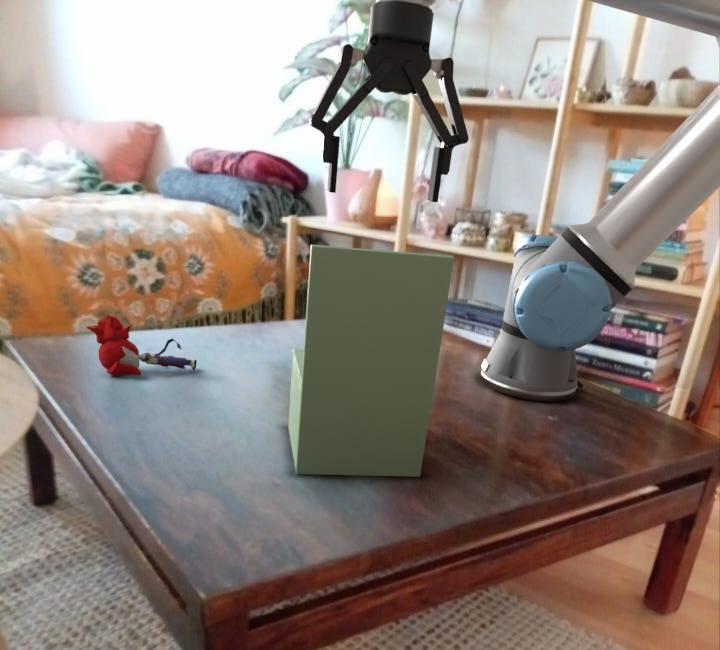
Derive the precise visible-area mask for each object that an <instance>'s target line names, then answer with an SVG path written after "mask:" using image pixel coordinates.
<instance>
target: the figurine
mask: <svg viewBox="0 0 720 650" xmlns="http://www.w3.org/2000/svg"><path fill="white" fill-rule="evenodd" d="M132 326H133V325H132V324H129V325H127V326H126V327H124V326H123V324H122V322H121V321H120V320H119V319H118V317H117V316H114V315H110V314H107V315H106V316H105V318H101V319H100V320H98V321H97V325H90V326H86V328H87V329H88V330H89V331H91V332H93V333H94V334H95V336H96V342H97V344H100V346H99V348H98V360H99V363H100V364H101V366H102V367H103V368H104V369H106V373H107V374H108V375H110V376H129V375H131V376H133V375H134V376H142V374H143V373H142V371H141V370H140V369H139V368H140V361H141V362H142V363H146V364H147V365H154V366H160V367H163V368H164V367H166V368H168V367H173V368H176V369H177V368H178V369H182V370H185V369H186V366H188V367H189V366H190V367H191V369H192V370H193V371H195V370H196V368H197V359H188V358H186V357H178V356H174V355H162V354H163V353H165V352H166V350H167V349H168V347H169V345H170V344H171V343H173V342H175V343H176V347H177V348H178V349H180V350H182V346H181V345H180V343H179V342H177V341H176V340H175V339H174V338H170V339H167V341H166V343H165V345H164V348H163V349H162V350H161V351H160V352H158V353H152V352H144V353H141V354H140V352H139V351H140V350H139V349H138V347H137V346H136V344H135V343H133V342H132V341H130V340H129V338H130V330H131V328H132Z"/></svg>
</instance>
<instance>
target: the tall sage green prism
mask: <svg viewBox="0 0 720 650" xmlns="http://www.w3.org/2000/svg"><path fill="white" fill-rule="evenodd" d="M309 252H310V253H309V266H308V280H307V281H308V282H307V295H306V310H305V324H304V339H303V349H302V348H293V349H292V363H291V375H290V376H291V377H290V392H289V393H290V395H289V410H288V426H287V428H288V433H289V434H288V435H289V440H290V446H291V451H292V457H293V464H294V469H295V474H296V475H318V476H321V475H323V476H361V477H362V476H366V477H367V476H368V477H406V478H407V477H409V478H410V477H413V478H414V477H415V478H420V477H421V473H422V467H423V462H424V461H423V460H424V454H425V448H426V441H427V435H428V429H429V422H430V416H431V411H432V410H431V409H432V402H433V397H434V390H435V383H436V376H437V371H438V364H439V359H440V352H441V346H442V345H441V344H442V340H443V339H442V338H443V332H444V326H445V320H446V313H447V307H448V301H449V295H450V287H451V282H452V275H453V268H454V262H455V258H454V256H452V255H443V254H432V253H421V252H420V253H419V252H408V251H395V250H383V249H371V248H370V249H369V248H358V247H347V246H336V245H335V246H333V245H323V244H310V251H309Z"/></svg>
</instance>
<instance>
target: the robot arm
mask: <svg viewBox="0 0 720 650" xmlns="http://www.w3.org/2000/svg"><path fill="white" fill-rule="evenodd" d="M587 1H588V2H591V3H595V4H599V5H602V6H606V7H609V8H613V9H616V10H619V11H623V12H625V13H630V14H634V15H638V16H641V17H645V18H648V19H652V20H654V21H659V22H662V23H664V24H665V23H666V24H669V25H673V26H676V27H679V28H683V29H687V30H691V31H693V32H697V33H701V34H705V35H708V36H710V37H714V38H715V40H716V42H717V45H718V48H720V0H587ZM435 3H436V0H375V2H373V3H372V5H371V6H370V12H369V23H368V24H369V25H368V35H367V42H366V43H367V44H366V46H365V48H364V49H360V48H356V47H353V45H352V44H350V43H346V44H345V45H343V46H342V47H341V49H340V53H339V58H338V63H337V66H336V68H335V70H334V73H333V74H332V77H331V78H330V80H329V82H328V83H327V86H326V88H325V89H324V91H323V93H322V95H321V97H320V99H319V101H318V103H317V105H316V107H315V108H314V111H313V112H312V114H311V116H310V118H309V120H308V123H309V126H310V127H312V128H313V129H316V130H318V131H319V132H320V133H321V135H322V142H321V144H322V145H321V161H322V163H323V164H328V175H327V176H328V178H327V191H328V192H329V193H334V194H336V193H337V178H338V169H339V168H338V165H339V153H340V143H341V142H340V141H341V140H340V139H341V136H338V135H335V132H336V131H337V130H338V129H339V128H340V127H341V125H343V123H345V121H346V120H347V119H348V118H349V116H351V114H353V112H354V111H355V110H356V109H357V108H358V107H359V106H360V105H361V103H363V101H364V100H365V99H366V98H367V97H368V96H369V95H370V94H371V93H372V92H373V91H374V90H375V89H376V90H377V91H378V92H379V93H383V94H387V93H388V94H389V93H394V94H396V95H400V96H408V95H410V94H411V95H412V97H413V99H414V100H415V101H416V103H417V104H418V107H419V108H420V110H421V112H422V113H423V116H424V117H425V119H426V121H427V123H428V124H429V126H430V128H431V130H432V131H433V134H434V135H435V136H436V138H437V140H438V142H439V144H440V147H439V146H434V147H433V154H432V161H431V170H430V176H429V184H428V192H427V198H426V199H427V201H429V202H432V203H438V202H439V195H440V190H441V189H440V188H441V181H442V175H444V176H448V175H449V173H450V168H451V162H452V154H453V151H454V148H455V147H457V146H460V145H464V144H467V143H468V142H469V138H470V137H469V133H468V130H467V127H466V122H465V118H464V114H463V111H462V107H461V103H460V99H459V96H458V92H457V88H456V85H455V81H454V64H455V63H454V58H451V57H445V58H441V59H440V58H437V59H435V58H434V59H432V58H431V54H430V46H431V39H432V30H433V22H434V15H435V13H434V12H433V9H432V8H430V6H432V5H433V4H435ZM359 61H362V65H363V67H364V68H365V70H366V72H367V76H366V77H365V79H364V80H363V81H362V82H361V83H360V84H359V86H358V87H357V88H356V89H355V90H354V92H353V93H352V94H351V95H350V96H349V97H348V98H347V99H346V100H345V101H344V102H343V104H341V106H340V107H339V108H338V109H337V110H336V111H335V113H334V114H333V115H332V116H331V117H330V118H329V119H328V121H325V120H324V118H325V116H326V115H327V113H328V112H329V109H330V107H331V105H332V104H333V101H334V100H335V98H336V96H337V94H338V92H339V91H340V89H341V87H342V85H343V83H344V81H345V79H346V77H347V76H348V74H349V71H350V69H353V68H355V67H356V66H357V64H358V62H359ZM430 71H432V72H433V75H434V78H435V79H436V80H438V85H439V89H440V92H441V96H442V99H443V104H444V107H445V110H446V114H447V118H448V121H449V124H450V125H449V126H450V129H451V132H452V134H451V132H450V130H449V128H448V127H447V124H446V123H445V121H444V119H443V117H442V116H441V114H440V111H439V110H438V109H437V106H436V105H435V102H434V101H433V99H432V97H431V95H430V93H429V90H428V88H427V86H426V84H425V83H424V78H426V76H427V75H428V73H429V72H430ZM719 188H720V83H719V84H718V85H716V87H715V88H714V89H713V91H711V92H710V93H709V94H708V96H707V97H706V98H705V99H704V100H703V101H702V102H701V103H700V104H699V105H698V106H697V107H696V108H695V109H694V110H693V112H692V113H691V114H690V115H689V116H688V117H687V118H686V119H685V120H684V121H683V122H682V123H681V124H680V125H679V126H678V127H677V128H676V129H675V131H673V133H672V134H671V135H670V136H669V137H668V138H667V139H666V140H665V141H664V142H663V143H662V144H661V145H660V146H659V147H658V149H656V150H655V152H654V153H653V154H652V155H651V156H650V157H649V158H648V159H647V160H646V161H645V162H644V163H643V164H642V166H641V167H639V168H638V169H637V170H636V172H635V173H634V174H632V176H630V178H629V179H628V180H627V181H626V182H625V183H624V184H623V185H622V186H621V187H620V189H619V190H618V191H617V192H616V193H615V194H614V195H613V196H612V197H611V198H609V200H608V201H607V203H605V204H604V205H603V206H602V207H601V208H600V210H599V211H598V212H597V213H596V214H595V215H594V216H593V217H592V218H591V219H590V220H589V221H588V222H585V223H579V224H570V225H568V227H567V228H566V229H564V231H563V232H562V233H561V234H560V235H559V236H554V235H546V234H545V235H544V234H536V233H535V234H534V233H526V234H524V235H521V237H520V238H519V240H518V242H517V246H516V249H515V251H514V254H513V257H514V260H513V265H512V271H511V275H510V281H509V287H508V292H507V297H506V301H505V307H504V312H503V317H502V322H501V328H500V332H499V335H498V337H497V338H496V340H495V342H494V344H493V345H492V348H491V350H490V351H489V353H488V355H487V357H486V358H484V359H483V361H482V363H481V364H480V367H481V371H480V377H479V378H480V381H481V382H482V383H483V384H484V385H485V386H486V387H488V388H490V389H492V390H494V391H496V392H499V393H501V394H504V395H507V396H509V397H510V396H511V397H515V398H518V399H523V400H530V401H538V402H562V401H567V400H570V399H572V398H574V396H575V395H576V393H577V390H578V389H577V388H579V389H580V390H581V389H583V388H584V387H585V386H584V385H585V384H583V383H582V382H581V381H580V380H578V368H577V355H576V350H578V349H580V348H582V347H584V346H586V345H588V344H590V343H591V342H592V341H594V340H595V339H596V338H597V337H598V336H599V335H600V334H601V332H602V331H603V330H604V328H605V327H606V325H607V323H608V321H609V320H610V319H609V318H610V316H611V312H612V310H613V309H614V308H615V307H616V306H617V305H618V304H619V303H620V302H621V301H622V300H623V299H624V298H625V297H626V296H627V295H628V294H630V292H631V291H632V290H633V289H634V288H635V283H636V272H637V269H638V268H639V267H640V266H641V265H642V264H643V263H644V262H645V261H646V260H647V259H648V258H649V257H650V256H651V255H652V254H653V253H654V252H656V250H657V249H658V248H659V247H660V246H661V245H663V243H664V242H665V241H666V240H667V239H668V238H669V237H670V236H671V235H673V233H675V231H676V230H678V228H680V227H681V226H682V225H683V224H684V223H685V222H686V221H687V220H688V219H689V218H690V217H691V216H692V215H693V214H694V213H695V212H696V211H697V210H698V209H699V208H700V207H701V206H702V205H703V204H704V203H705V202H706V201H707V200H708V199H709V198H710V197H712V195H713V194H714V193H715V192H717V190H718V189H719Z"/></svg>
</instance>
